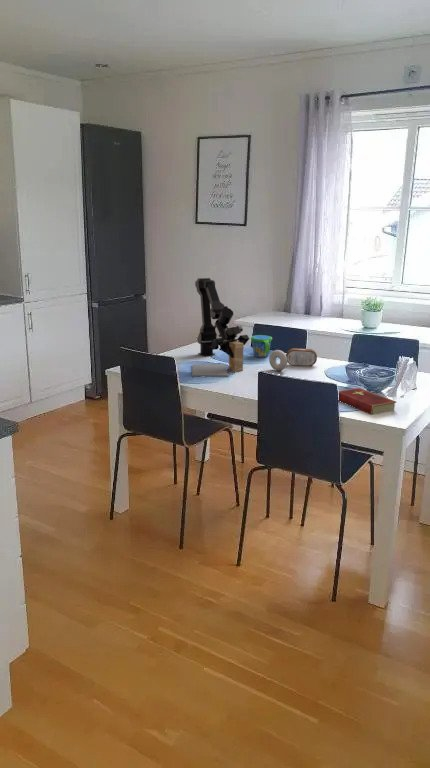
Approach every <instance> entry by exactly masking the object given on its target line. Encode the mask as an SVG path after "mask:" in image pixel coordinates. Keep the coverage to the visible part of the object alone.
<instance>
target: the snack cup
mask: <svg viewBox="0 0 430 768" xmlns="http://www.w3.org/2000/svg"><path fill="white" fill-rule="evenodd" d="M250 340H251V343H252V353H253V356H254V357H256V358H260V357H264V358H268V357H269V355H270V354H269V353H270V351H271V349H270V348H271V343H272V341H273V337H272V336H270V335H264V334H258V335H255V334H254V335H251V338H250Z"/></svg>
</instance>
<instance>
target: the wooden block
mask: <svg viewBox="0 0 430 768" xmlns="http://www.w3.org/2000/svg"><path fill="white" fill-rule="evenodd" d="M229 346H230V348H231V351H232V353H233V355H234V358H232V357H230V356H229V355H228V370H229V371H232V372H241V371H243V369H244V367H243V366H244V346H245V345H244V343H241V342H230V343H229Z"/></svg>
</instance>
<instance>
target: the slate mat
mask: <svg viewBox="0 0 430 768" xmlns="http://www.w3.org/2000/svg"><path fill="white" fill-rule="evenodd" d="M191 367H192V369H191V370H192V374H191V375H192V378H199V377H198V376H212V377H211V378H228V377H229V374H228V370H227V364H225V363H224V364H222V363H220V364H219V363H218V364H217V363H216V364H215V363H214V364H210V363H206V364H202V363H199V364H197V363H193V364H192V366H191Z"/></svg>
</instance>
